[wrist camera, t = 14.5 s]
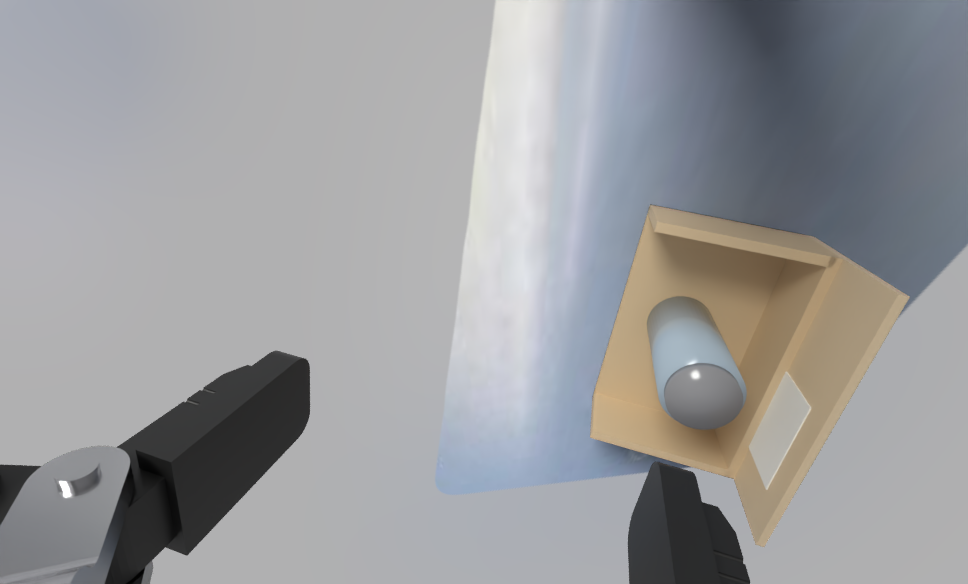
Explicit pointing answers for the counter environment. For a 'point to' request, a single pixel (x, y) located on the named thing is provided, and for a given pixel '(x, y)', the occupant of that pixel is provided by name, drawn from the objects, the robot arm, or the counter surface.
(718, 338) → the canister
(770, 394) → the mailer
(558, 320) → the counter surface
